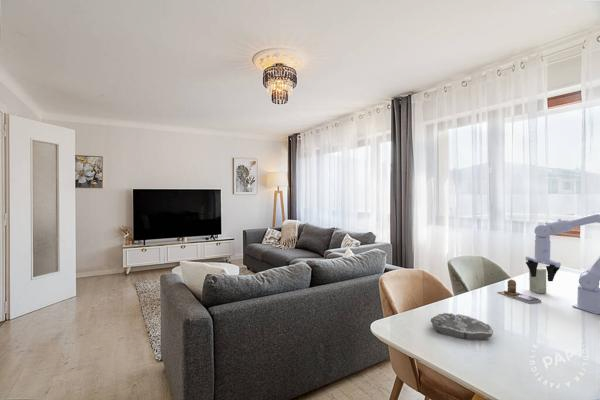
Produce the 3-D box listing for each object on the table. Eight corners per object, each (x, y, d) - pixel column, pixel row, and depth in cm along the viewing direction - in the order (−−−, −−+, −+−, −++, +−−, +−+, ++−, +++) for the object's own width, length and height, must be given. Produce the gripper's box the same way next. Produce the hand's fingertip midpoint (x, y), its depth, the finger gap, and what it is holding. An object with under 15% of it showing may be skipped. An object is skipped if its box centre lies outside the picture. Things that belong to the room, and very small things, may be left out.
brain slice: (482, 324, 115) (482, 316, 115) (498, 345, 99) (498, 336, 99) (427, 318, 121) (427, 310, 121) (433, 337, 105) (433, 328, 105)
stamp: (519, 295, 148) (519, 280, 148) (512, 296, 147) (512, 281, 147) (511, 292, 153) (511, 278, 152) (504, 293, 152) (504, 278, 151)
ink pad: (541, 302, 140) (541, 299, 140) (529, 303, 138) (529, 300, 138) (526, 297, 147) (526, 294, 147) (515, 298, 145) (515, 295, 145)
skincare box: (546, 293, 152) (547, 269, 152) (537, 293, 153) (538, 269, 152) (537, 289, 159) (537, 266, 159) (528, 289, 159) (528, 266, 159)
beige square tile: (527, 297, 147) (527, 296, 147) (513, 298, 144) (513, 297, 144) (510, 291, 155) (510, 290, 155) (496, 292, 153) (496, 291, 153)
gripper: (521, 247, 149) (520, 275, 149) (552, 253, 135) (551, 283, 135) (531, 247, 151) (531, 274, 151) (564, 252, 137) (563, 282, 137)
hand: (541, 278), depth 143 cm, fingers open, 7 cm apart
